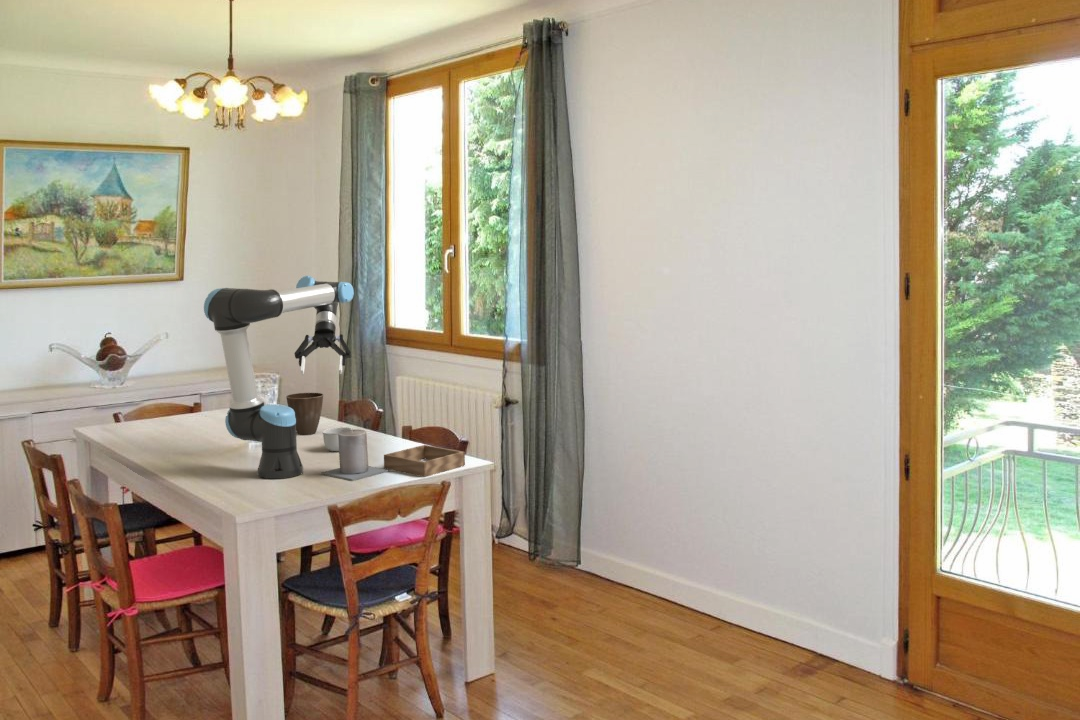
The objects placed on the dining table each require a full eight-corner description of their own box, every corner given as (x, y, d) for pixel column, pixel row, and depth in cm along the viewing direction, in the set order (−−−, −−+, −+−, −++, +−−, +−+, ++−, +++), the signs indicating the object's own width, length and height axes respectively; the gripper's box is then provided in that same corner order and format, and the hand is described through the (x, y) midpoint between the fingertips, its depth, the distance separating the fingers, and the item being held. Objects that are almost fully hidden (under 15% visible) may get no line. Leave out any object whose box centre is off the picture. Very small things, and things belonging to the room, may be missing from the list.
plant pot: (280, 434, 411) (278, 396, 409) (308, 428, 423) (306, 391, 421) (304, 438, 402) (303, 399, 400) (332, 432, 414) (330, 394, 412)
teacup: (345, 453, 374) (344, 432, 373) (318, 452, 376) (317, 431, 375) (359, 445, 387) (358, 425, 386) (333, 444, 390) (332, 424, 388)
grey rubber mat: (352, 480, 332) (352, 479, 332) (321, 474, 342) (321, 472, 342) (387, 471, 345) (387, 469, 345) (356, 465, 355) (356, 463, 355)
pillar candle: (349, 466, 350) (347, 424, 348) (373, 468, 346) (371, 426, 344) (334, 473, 341) (331, 430, 339) (358, 475, 337) (356, 432, 335)
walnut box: (424, 477, 337) (424, 462, 336) (384, 468, 349) (383, 454, 348) (465, 465, 352) (464, 451, 351) (424, 458, 364) (424, 444, 364)
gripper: (360, 332, 376) (357, 377, 363) (293, 333, 374) (287, 379, 361) (358, 319, 370) (355, 365, 357) (290, 320, 368) (284, 366, 355)
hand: (321, 372), depth 359 cm, fingers open, 13 cm apart
